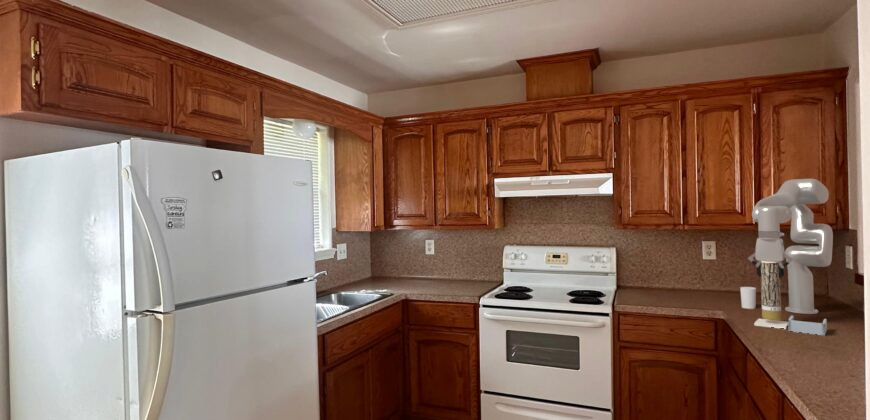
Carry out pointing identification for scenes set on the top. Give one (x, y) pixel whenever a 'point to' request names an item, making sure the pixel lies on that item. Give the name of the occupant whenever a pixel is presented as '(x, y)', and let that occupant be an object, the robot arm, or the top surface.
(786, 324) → the tile
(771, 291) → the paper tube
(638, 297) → the top surface
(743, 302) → the drinking glass
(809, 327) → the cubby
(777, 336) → the top surface
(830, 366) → the top surface
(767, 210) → the robot arm
